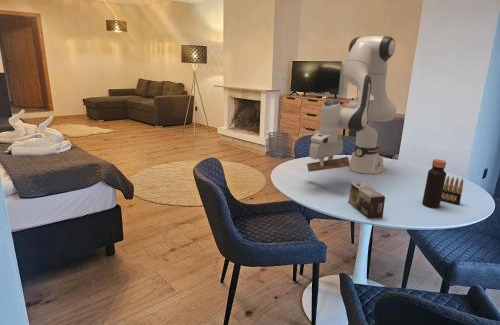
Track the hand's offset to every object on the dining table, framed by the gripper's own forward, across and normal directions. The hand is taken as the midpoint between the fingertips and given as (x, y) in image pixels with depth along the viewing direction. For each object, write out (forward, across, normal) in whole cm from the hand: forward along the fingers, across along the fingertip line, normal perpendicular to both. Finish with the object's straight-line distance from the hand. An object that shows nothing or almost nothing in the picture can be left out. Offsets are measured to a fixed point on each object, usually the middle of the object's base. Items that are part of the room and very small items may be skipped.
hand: (325, 165), depth 160 cm
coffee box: (+7, +2, +19) cm, 21 cm away
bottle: (+11, -22, +41) cm, 48 cm away
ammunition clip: (+11, -32, +43) cm, 55 cm away
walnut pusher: (+2, 0, 0) cm, 2 cm away
